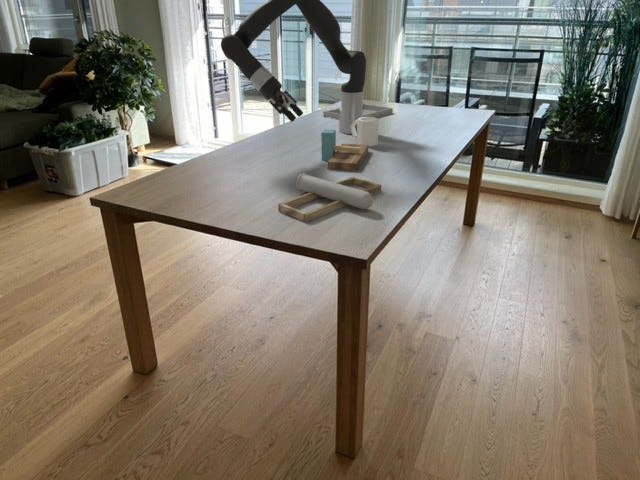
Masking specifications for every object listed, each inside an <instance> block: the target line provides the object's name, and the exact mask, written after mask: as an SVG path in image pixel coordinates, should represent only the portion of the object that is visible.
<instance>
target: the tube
mask: <svg viewBox="0 0 640 480" xmlns="http://www.w3.org/2000/svg"><path fill="white" fill-rule="evenodd" d="M337 183H338V182H334V181H330V180H327V179H324V178H319V177H316V176H312V175H309V174H307V173H304V172H303V173H301V174H298V177H297V178H296V183H295V185H296V187H295V188H296V189H297V190H299V191H300V192H306V193H310V192H313V193H315V194H317V195H318V196H321V197H323V198H326V199H328V200H330V201H331V200H332V201H333V202H335V201H337V200H341V201H342V202H343V203H345V204H347V205H346V206H351V207H354V208H358V209H361V210H368V209H370V208H371V207H372V204H373V203H374V199H373V195H371V194H370V193H368V192H366V191H363V189H358V188H355V187H352V186H345V185H341V184H337ZM321 197H320V198H321Z"/></svg>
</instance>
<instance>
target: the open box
mask: <svg viewBox="0 0 640 480" xmlns="http://www.w3.org/2000/svg"><path fill="white" fill-rule="evenodd" d="M340 146H349V147H361V148H360V152H358V153H356V151H341V150H336V152H335V153H334V154H333V156H332V157H331V158H330V159H329V160H328V161H327V162H326V164H327V166H326V167H327V170H339V171H354V172H356V171H357V170H358V169H359V167H360V166H361V164H362V162H363V161H364V159H365V157H366V156H367V154H368V152H369V146H368V145H358V144H357V143H356V144H354V143H342V144H341V145H340Z"/></svg>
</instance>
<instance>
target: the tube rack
mask: <svg viewBox="0 0 640 480" xmlns="http://www.w3.org/2000/svg"><path fill="white" fill-rule="evenodd" d="M336 183H337V184H341V185H345V186H348V187H352V186H353V185H355V186H358V187H361V188H364V189H362V191H366V192H368V193H370V194H371V196H373V195H375V194H377V193H378V194H379V192H381V191H382V184H381V183H376V182H373V181H369V180H366V179H362V178H359V177H356V176H352V177H349V178H347V179H344V180H341V181H338V182H336ZM319 198H321V196H318V195H317V194H315V193H313V192H310V193H309V192H306V193H305V194H303V195H302V194H301V195H299V196H297V197H294V198H291V199H289V200H286V201H282V202H280V203H278V206H277V208H278V212H280V213H283V214H285V215H288V216H290V217H293V218H296V219H298V220H300V221H303V222H305V223H307V222H310V221H312V220H315V219H317V218H319V217H323V216H325V215H327V214H330V213H332V212H335V211H336V210H339V209H341V208H344V207H346V206H348V205H347V204H345V203H343V202H342V201H341V200H337V201H332V202H331V203H328V204H325V205H323V206H320V207H318V208H316V209H313V210H310V211H308V212H305V211H302V210H300V209H297V208H295V207H297V206H301V205H303V204H305V203H309V202H310V201H313V200H316V199H319Z"/></svg>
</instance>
